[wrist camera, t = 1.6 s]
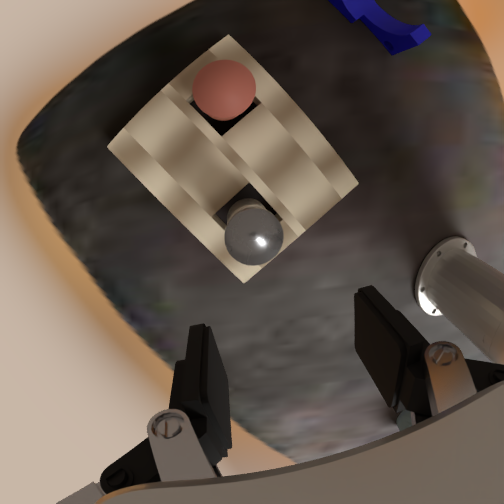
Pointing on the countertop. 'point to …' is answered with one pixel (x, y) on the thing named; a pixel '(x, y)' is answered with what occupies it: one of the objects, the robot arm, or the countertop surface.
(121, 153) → the board
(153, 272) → the countertop surface
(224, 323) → the countertop surface
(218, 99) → the red plug
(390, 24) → the cable clip
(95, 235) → the countertop surface
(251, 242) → the grey plug
